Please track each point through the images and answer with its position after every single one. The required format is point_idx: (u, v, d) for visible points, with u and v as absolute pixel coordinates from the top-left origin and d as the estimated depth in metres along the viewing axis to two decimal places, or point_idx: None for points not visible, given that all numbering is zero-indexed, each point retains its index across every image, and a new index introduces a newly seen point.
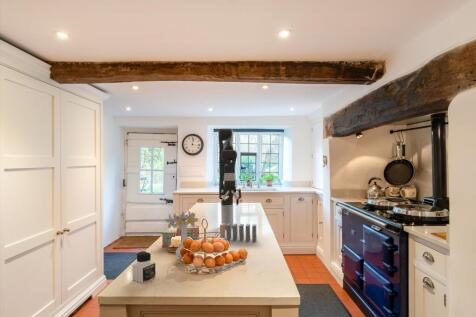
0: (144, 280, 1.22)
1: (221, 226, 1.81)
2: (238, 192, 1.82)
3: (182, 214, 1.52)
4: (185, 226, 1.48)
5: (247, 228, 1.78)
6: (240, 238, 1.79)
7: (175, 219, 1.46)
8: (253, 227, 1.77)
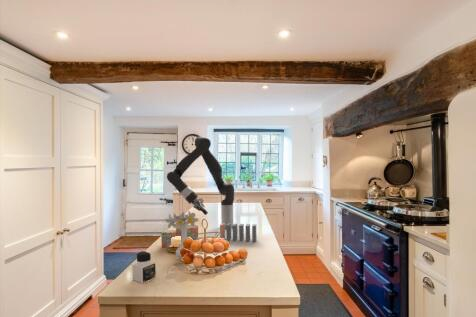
0: (144, 280, 1.22)
1: (221, 226, 1.81)
2: None
3: (182, 214, 1.52)
4: (185, 226, 1.48)
5: (247, 228, 1.78)
6: (240, 238, 1.79)
7: (175, 219, 1.46)
8: (253, 227, 1.77)
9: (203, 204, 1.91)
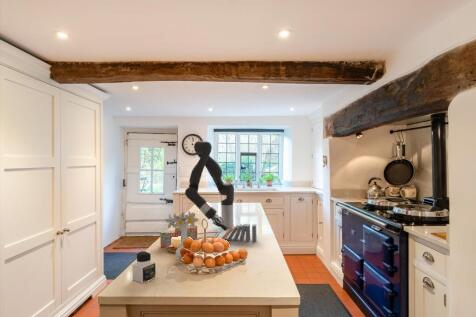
0: (144, 280, 1.22)
1: (231, 229, 1.80)
2: None
3: (182, 214, 1.52)
4: (185, 226, 1.48)
5: (247, 228, 1.78)
6: (241, 238, 1.79)
7: (175, 219, 1.46)
8: (253, 227, 1.77)
9: (222, 219, 1.88)
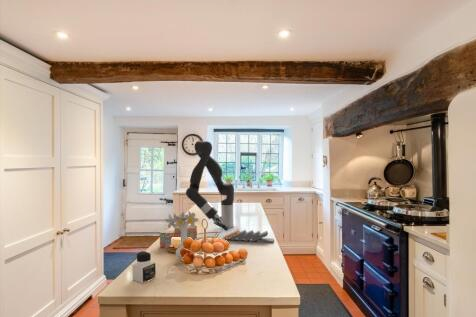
0: (144, 280, 1.22)
1: (236, 233, 1.80)
2: None
3: (182, 214, 1.52)
4: (185, 226, 1.48)
5: (264, 235, 1.75)
6: (246, 238, 1.78)
7: (175, 219, 1.46)
8: (271, 242, 1.75)
9: (223, 219, 1.88)
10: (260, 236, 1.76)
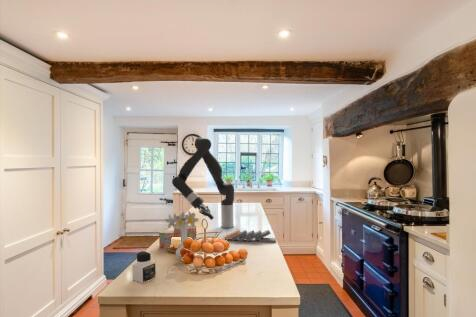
0: (144, 280, 1.22)
1: (236, 233, 1.80)
2: None
3: (182, 214, 1.52)
4: (185, 226, 1.48)
5: (267, 233, 1.79)
6: (249, 238, 1.78)
7: (175, 219, 1.46)
8: (274, 241, 1.75)
9: None
10: (264, 234, 1.79)
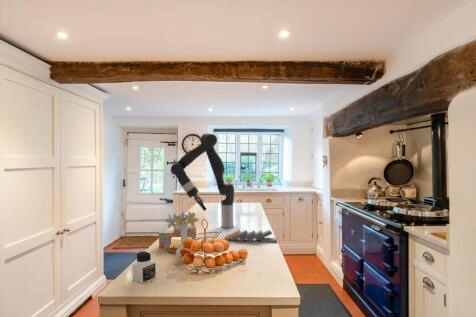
0: (144, 280, 1.22)
1: (237, 233, 1.80)
2: None
3: (182, 214, 1.52)
4: (185, 226, 1.48)
5: (269, 233, 1.80)
6: (249, 238, 1.78)
7: (175, 219, 1.46)
8: (275, 241, 1.75)
9: None
10: (265, 234, 1.80)
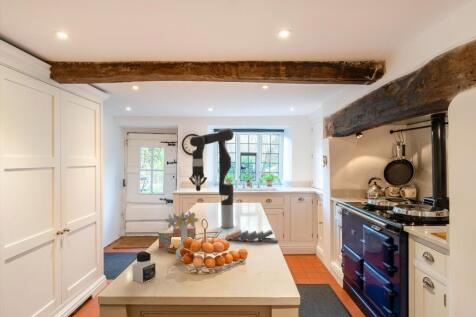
0: (144, 280, 1.22)
1: (238, 233, 1.80)
2: (203, 179, 1.90)
3: (182, 214, 1.52)
4: (185, 226, 1.48)
5: (270, 233, 1.78)
6: (250, 239, 1.77)
7: (175, 219, 1.46)
8: (276, 241, 1.75)
9: None
10: (266, 234, 1.78)
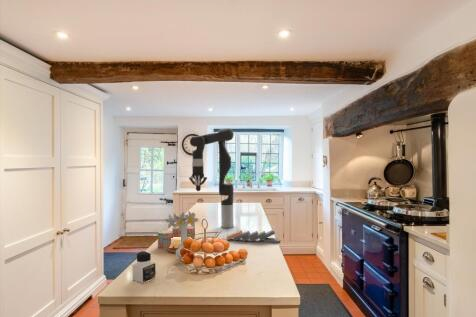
0: (144, 280, 1.22)
1: (239, 234, 1.79)
2: (203, 179, 1.90)
3: (182, 214, 1.52)
4: (185, 226, 1.48)
5: (272, 233, 1.78)
6: (252, 239, 1.77)
7: (175, 219, 1.46)
8: (278, 242, 1.74)
9: None
10: (268, 234, 1.78)
